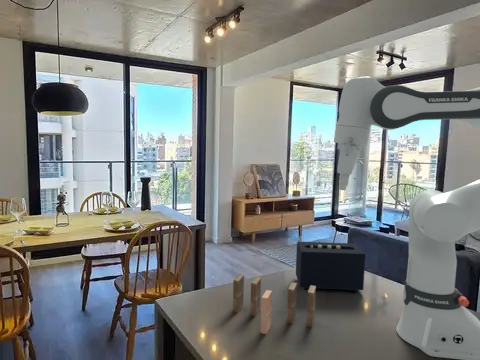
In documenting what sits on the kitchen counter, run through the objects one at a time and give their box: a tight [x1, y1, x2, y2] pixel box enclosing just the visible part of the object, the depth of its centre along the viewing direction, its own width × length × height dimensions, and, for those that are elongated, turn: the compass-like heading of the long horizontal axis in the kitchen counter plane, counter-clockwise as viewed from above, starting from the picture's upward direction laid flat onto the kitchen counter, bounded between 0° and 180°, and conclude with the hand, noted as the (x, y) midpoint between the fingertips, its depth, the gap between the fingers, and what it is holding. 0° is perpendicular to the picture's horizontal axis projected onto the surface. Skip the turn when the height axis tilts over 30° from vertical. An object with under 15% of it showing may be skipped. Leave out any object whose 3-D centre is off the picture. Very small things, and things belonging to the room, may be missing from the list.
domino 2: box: [249, 276, 262, 317], centre depth 103 cm, size 2×5×10 cm, turn 161°
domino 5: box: [305, 285, 317, 328], centre depth 98 cm, size 2×5×10 cm, turn 161°
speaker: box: [295, 241, 366, 293], centre depth 124 cm, size 22×13×15 cm, turn 88°
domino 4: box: [286, 282, 298, 324], centre depth 100 cm, size 2×5×10 cm, turn 160°
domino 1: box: [232, 274, 245, 314], centre depth 105 cm, size 2×5×10 cm, turn 161°
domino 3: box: [260, 289, 273, 335], centre depth 94 cm, size 2×5×10 cm, turn 160°
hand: (343, 187), depth 96 cm, fingers open, 8 cm apart
